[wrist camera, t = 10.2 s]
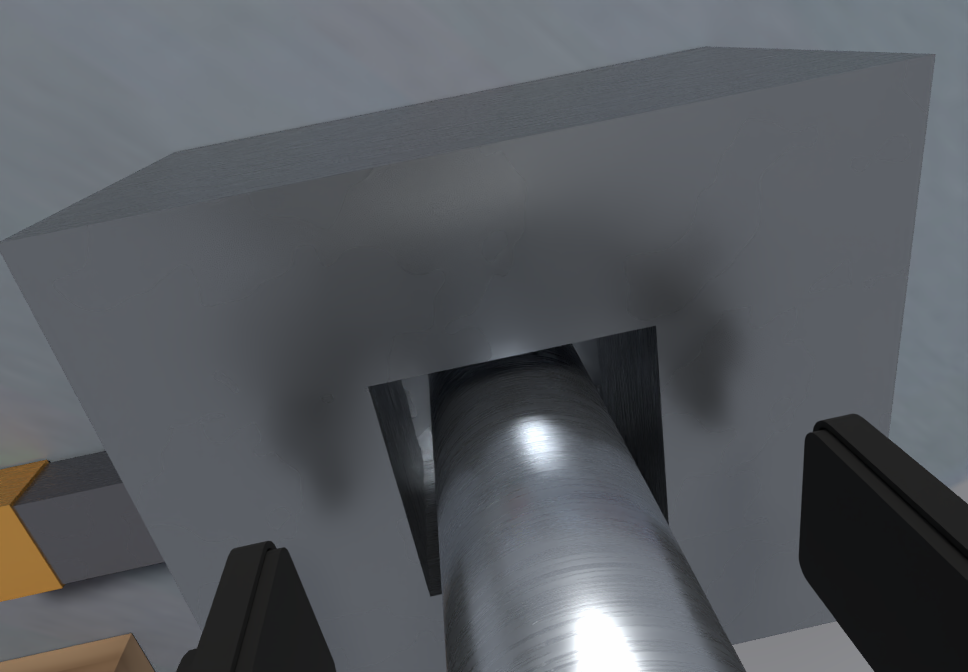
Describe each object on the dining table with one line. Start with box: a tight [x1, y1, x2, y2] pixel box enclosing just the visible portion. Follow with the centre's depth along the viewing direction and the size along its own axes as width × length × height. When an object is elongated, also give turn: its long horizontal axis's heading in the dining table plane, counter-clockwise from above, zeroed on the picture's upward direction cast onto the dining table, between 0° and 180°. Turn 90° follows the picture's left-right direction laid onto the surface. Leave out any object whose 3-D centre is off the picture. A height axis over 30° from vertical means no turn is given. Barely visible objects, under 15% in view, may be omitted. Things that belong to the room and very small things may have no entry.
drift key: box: [0, 451, 165, 602], centre depth 19 cm, size 3×16×2 cm, turn 100°
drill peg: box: [428, 343, 746, 672], centre depth 11 cm, size 4×4×11 cm
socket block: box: [0, 47, 935, 672], centre depth 16 cm, size 12×14×8 cm
